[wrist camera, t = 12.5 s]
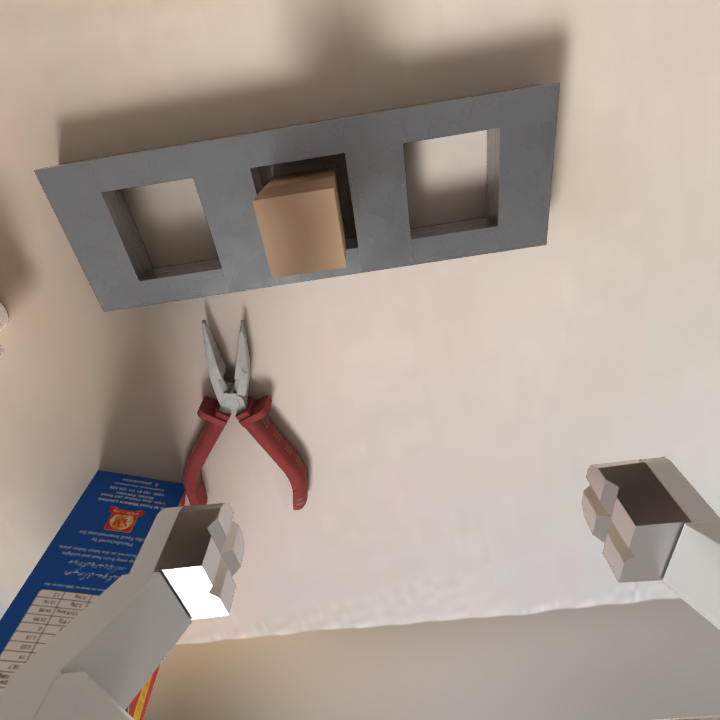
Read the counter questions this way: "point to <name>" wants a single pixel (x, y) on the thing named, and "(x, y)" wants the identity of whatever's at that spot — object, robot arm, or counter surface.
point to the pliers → (249, 416)
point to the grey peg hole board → (342, 135)
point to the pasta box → (85, 566)
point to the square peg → (302, 222)
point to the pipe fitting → (3, 323)
